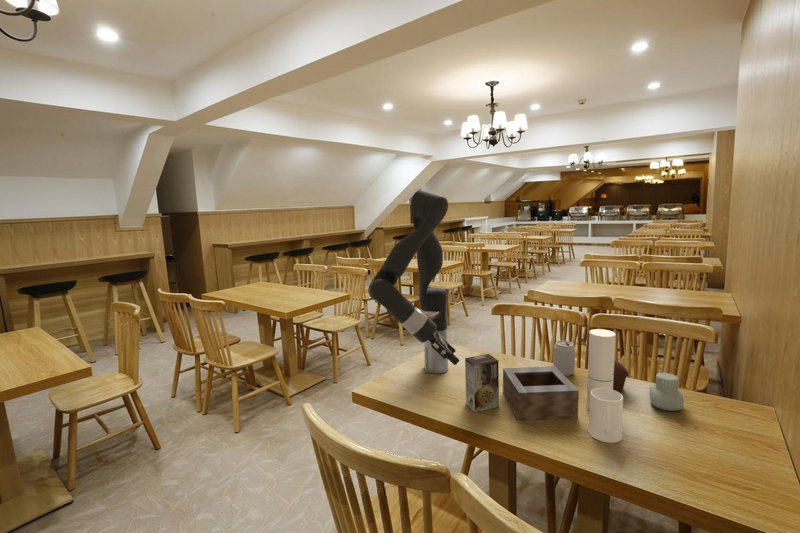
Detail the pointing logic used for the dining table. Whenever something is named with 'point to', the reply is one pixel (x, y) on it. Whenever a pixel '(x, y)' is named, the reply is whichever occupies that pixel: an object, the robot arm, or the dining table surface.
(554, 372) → the drop box
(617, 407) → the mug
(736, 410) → the dining table surface
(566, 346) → the can
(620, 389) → the muffin
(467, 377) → the coffee box
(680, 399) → the air freshener
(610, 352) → the cylindrical container
